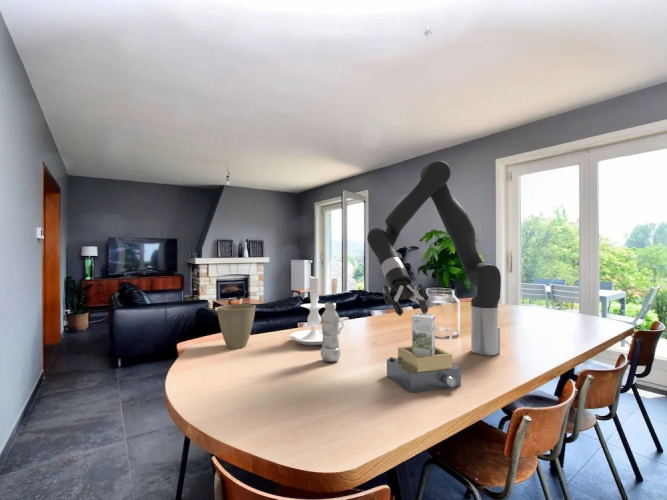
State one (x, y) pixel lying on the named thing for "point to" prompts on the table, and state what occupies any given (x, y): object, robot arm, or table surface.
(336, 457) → the table surface
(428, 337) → the syrup box
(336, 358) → the plastic bottle
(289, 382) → the table surface
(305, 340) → the candlestick
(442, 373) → the grey square holder
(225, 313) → the plant pot
